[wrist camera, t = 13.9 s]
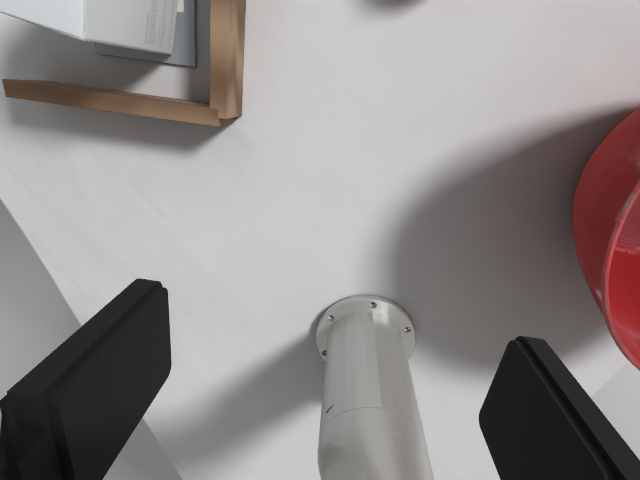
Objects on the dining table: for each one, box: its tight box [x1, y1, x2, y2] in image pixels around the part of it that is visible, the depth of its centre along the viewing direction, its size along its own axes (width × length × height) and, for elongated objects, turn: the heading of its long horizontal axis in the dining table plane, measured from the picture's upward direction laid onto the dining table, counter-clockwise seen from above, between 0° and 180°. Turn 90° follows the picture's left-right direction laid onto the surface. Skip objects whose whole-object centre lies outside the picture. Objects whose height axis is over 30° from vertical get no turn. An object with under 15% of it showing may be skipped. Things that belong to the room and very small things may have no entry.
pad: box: [95, 0, 196, 67], centre depth 33 cm, size 10×10×1 cm
